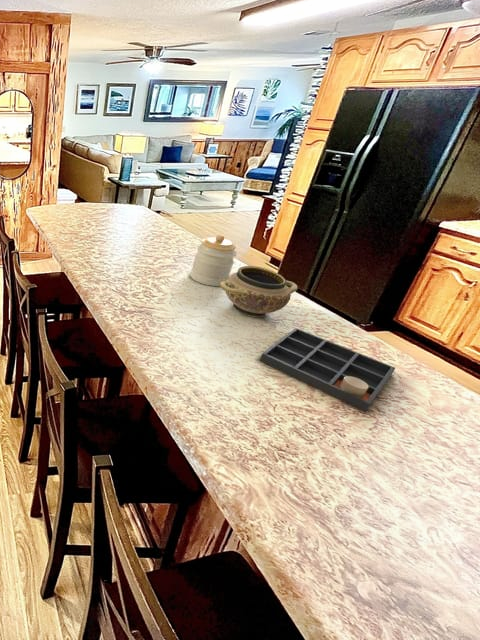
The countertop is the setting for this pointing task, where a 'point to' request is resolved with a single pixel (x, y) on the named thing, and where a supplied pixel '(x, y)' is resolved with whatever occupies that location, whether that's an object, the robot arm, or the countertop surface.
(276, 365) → the grid
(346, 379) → the cylinder
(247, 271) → the ceramic bowl
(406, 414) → the countertop surface
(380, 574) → the countertop surface
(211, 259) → the jar
